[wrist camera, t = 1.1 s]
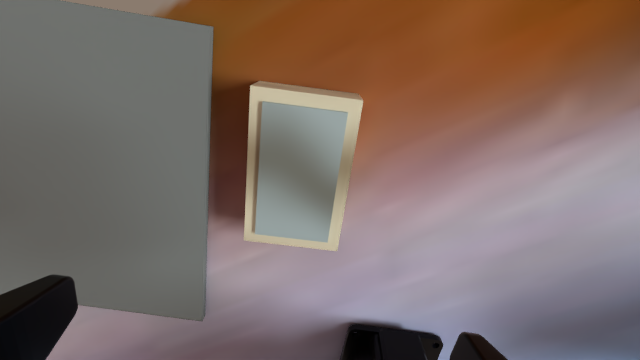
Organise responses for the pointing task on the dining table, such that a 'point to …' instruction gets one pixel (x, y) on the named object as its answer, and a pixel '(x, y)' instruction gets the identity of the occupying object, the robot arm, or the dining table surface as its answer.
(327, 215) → the framed mirror
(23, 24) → the grey rectangular board
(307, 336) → the dining table surface
